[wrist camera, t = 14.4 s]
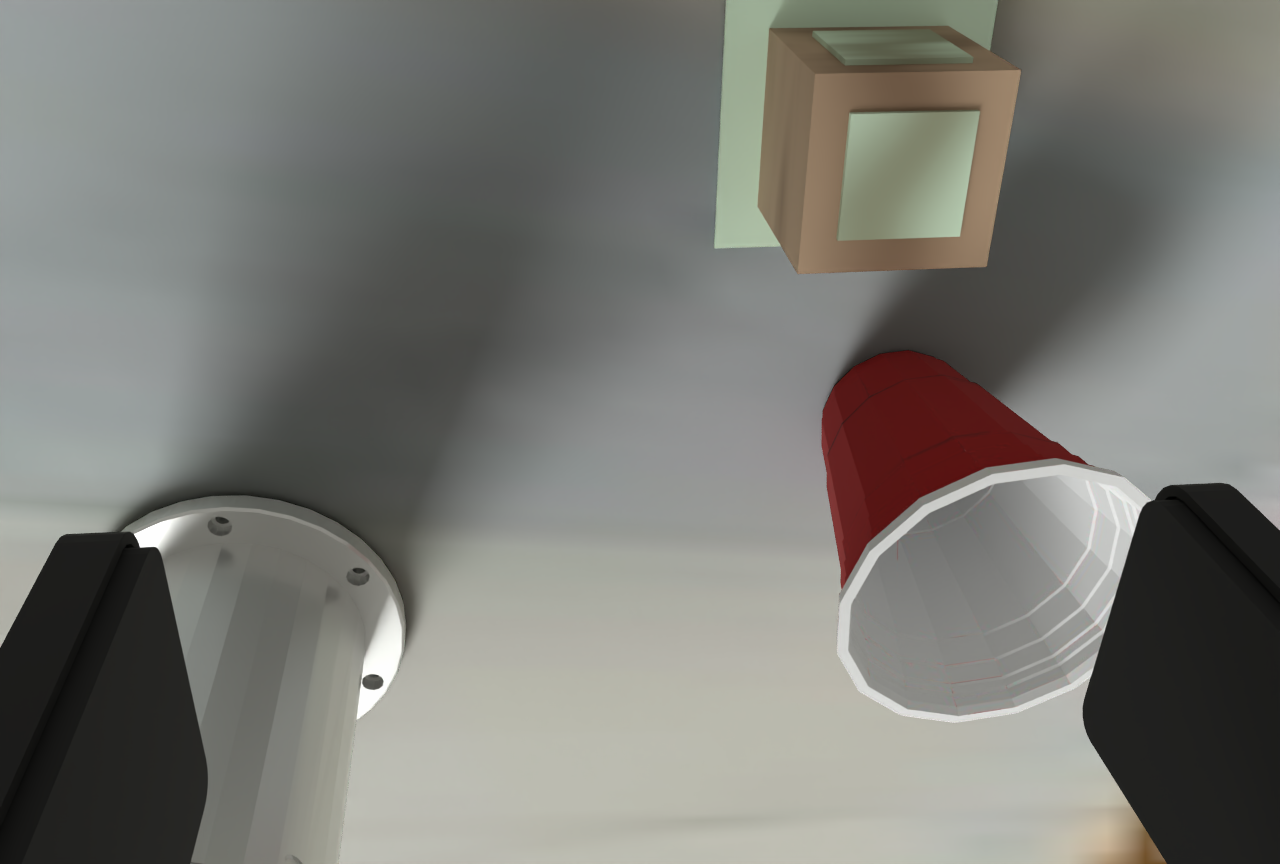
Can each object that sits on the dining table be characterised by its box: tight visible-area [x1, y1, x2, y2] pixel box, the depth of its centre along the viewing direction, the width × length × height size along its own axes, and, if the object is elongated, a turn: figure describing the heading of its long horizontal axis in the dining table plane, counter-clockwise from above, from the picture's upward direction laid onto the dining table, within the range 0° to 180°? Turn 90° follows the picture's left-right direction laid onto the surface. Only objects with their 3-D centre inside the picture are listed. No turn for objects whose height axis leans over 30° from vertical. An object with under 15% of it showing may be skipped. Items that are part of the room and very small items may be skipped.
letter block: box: [757, 26, 1021, 274], centre depth 36 cm, size 6×6×6 cm
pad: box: [714, 0, 998, 248], centre depth 39 cm, size 9×9×1 cm
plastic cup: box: [822, 350, 1152, 723], centre depth 41 cm, size 11×11×12 cm
